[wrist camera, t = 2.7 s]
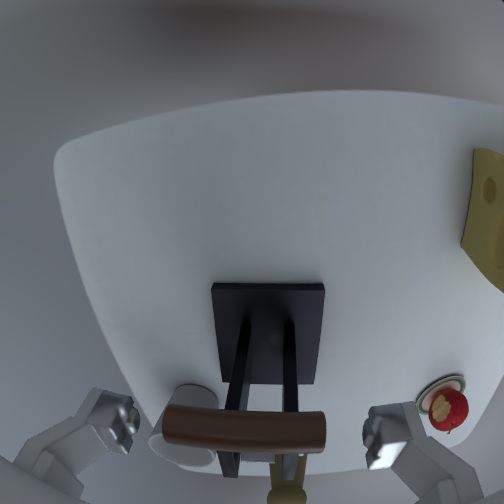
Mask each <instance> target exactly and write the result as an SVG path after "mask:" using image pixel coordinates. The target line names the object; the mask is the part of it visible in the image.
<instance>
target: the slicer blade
mask: <svg viewBox="0 0 504 504" xmlns="http://www.w3.org/2000/svg"><path fill="white" fill-rule="evenodd" d="M162 435H163V439H164V440H165V442H167V443H169V444H175V445H181V446H187V447H194V448H201V449H209V450H219V451H229V452H242V453H241V462H254V463H275V462H276V454H311V453H321V452H323V450H324V448H325V443H326V418H325V415H324V412H322V411H312V412H264V411H241V410H226V409H214V408H204V407H195V406H187V405H179V404H169V405H168V406H167V407H166V409H165V411H164V415H163V419H162Z"/></svg>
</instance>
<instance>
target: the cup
mask: <svg viewBox="0 0 504 504" xmlns="http://www.w3.org/2000/svg"><path fill="white" fill-rule="evenodd" d="M169 404H179V405H187V406H195V407H204V408H214V409H218V399H217V397H216V396H215V395H214V394H213V393H212V392H211V391H209V390H207V389H205V388H203V387H200V386H196V385H183V386H180V387H178V388H177V389H176V390H175V392H174V394H173V395H172V397H171V399H170V400H169V402H168V404H167V405H166V407H167V406H168V405H169ZM166 407H165V409H166ZM165 409H164V410H163V412H162V414H161V416H160V418H159V419H158V421H157V423H156V425H155V427H154V429H153V431H152V433H151V435H150V436H149V439H148V443H149V446H150V448H151V449H152V450H153V451H154V452H155V453H156V454H158V455H159V456H161V457H162V458H164V459H166V460H168V461H170V462H173V463H176V464H179V465H183V466H189V467H204V466H208V465H210V464H212V463H213V462H214V461H215V457H216V451H215V450H209V449H201V448H194V447H187V446H181V445H175V444H169V443H167V442H165V440H164V439H163V435H162V419H163V415H164V411H165Z"/></svg>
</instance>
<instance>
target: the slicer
mask: <svg viewBox="0 0 504 504" xmlns="http://www.w3.org/2000/svg"><path fill="white" fill-rule="evenodd" d="M211 294H212V303H213V312H214V320H215V329H216V337H217V345H218V353H219V360H220V368H221V375H222V382H227V383H230V384H229V389H228V394H227V399H226V404H225V409H226V410H241V411H247V403H248V396H249V388H250V384H282V385H283V393H282V412H299V410H298V384H314V379H315V372H316V365H317V358H318V350H319V342H320V334H321V325H322V316H323V306H324V296H325V288H324V284H254V283H213V286H212V288H211ZM215 451H216V453H217V454H218V458H219V462H220V465H221V469H222V473H223V476H224V477H229V478H237V477H238V470H239V463H240V456H241V452H229V451H219V450H215ZM299 456H304V454H281V467H280V480H294V478H295V473H296V468H297V463H298V458H299Z"/></svg>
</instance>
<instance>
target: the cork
mask: <svg viewBox="0 0 504 504" xmlns="http://www.w3.org/2000/svg"><path fill="white" fill-rule="evenodd" d="M306 460H307V454H304V456H299V458H298V463H297V468H296V473H295V478H294V480H280V467H281V454H276V462H275V463H269V465H270V475H271V485H272V490H271V491H270V492H269V493H268V497H267V504H305V503H306V500H307V496H306V493H305V491H304V490H303V489H302V488H303V481H304V475H305V468H306Z"/></svg>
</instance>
